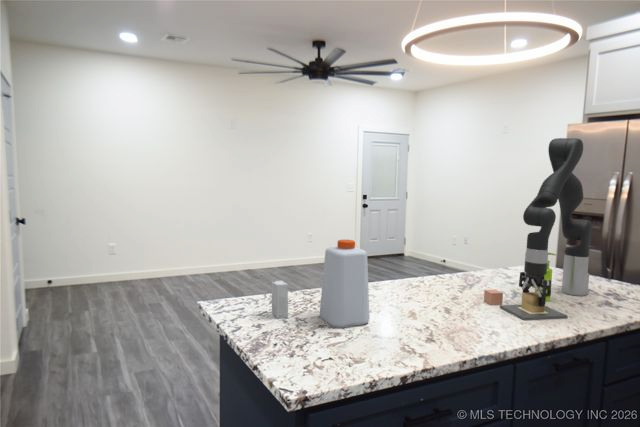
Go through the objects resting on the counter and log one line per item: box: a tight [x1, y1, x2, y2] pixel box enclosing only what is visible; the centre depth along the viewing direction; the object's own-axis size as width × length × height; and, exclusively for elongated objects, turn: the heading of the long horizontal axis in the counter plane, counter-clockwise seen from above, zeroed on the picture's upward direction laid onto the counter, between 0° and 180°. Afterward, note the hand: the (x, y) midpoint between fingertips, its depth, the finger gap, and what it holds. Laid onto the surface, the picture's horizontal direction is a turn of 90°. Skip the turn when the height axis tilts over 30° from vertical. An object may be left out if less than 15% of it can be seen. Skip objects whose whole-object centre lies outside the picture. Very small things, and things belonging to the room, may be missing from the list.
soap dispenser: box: [534, 252, 557, 302], centre depth 173 cm, size 6×7×20 cm
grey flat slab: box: [499, 304, 568, 321], centre depth 156 cm, size 18×14×1 cm
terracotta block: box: [483, 289, 504, 306], centre depth 167 cm, size 5×5×5 cm
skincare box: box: [270, 279, 289, 320], centre depth 146 cm, size 6×4×12 cm
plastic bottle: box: [319, 239, 370, 328], centre depth 143 cm, size 15×15×28 cm
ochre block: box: [520, 291, 546, 313], centre depth 156 cm, size 6×6×6 cm
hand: (533, 302), depth 156 cm, fingers open, 8 cm apart
